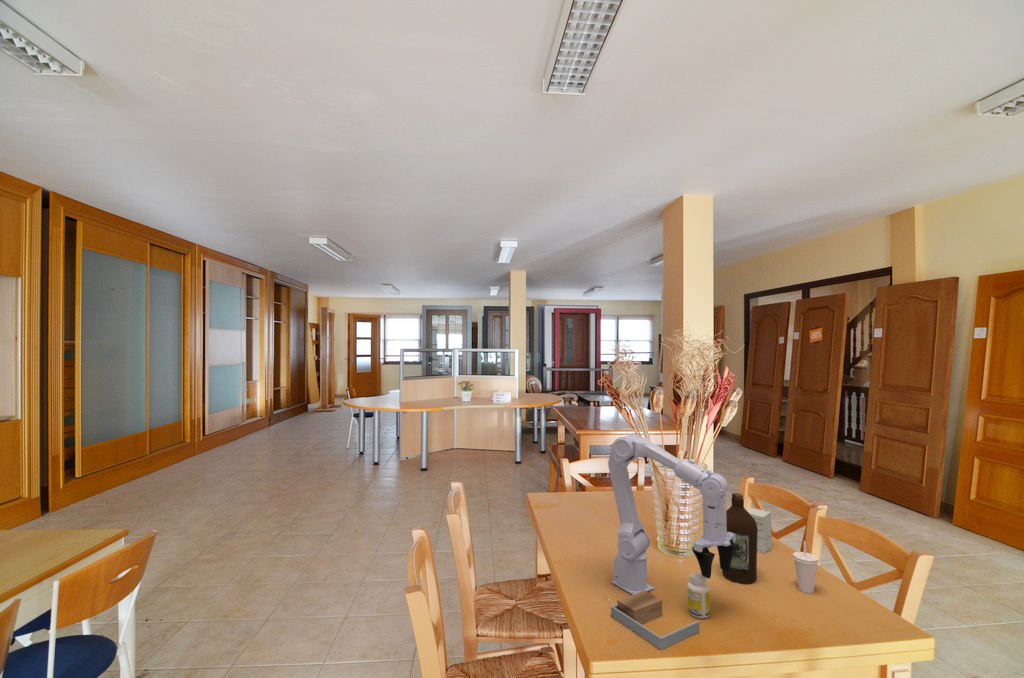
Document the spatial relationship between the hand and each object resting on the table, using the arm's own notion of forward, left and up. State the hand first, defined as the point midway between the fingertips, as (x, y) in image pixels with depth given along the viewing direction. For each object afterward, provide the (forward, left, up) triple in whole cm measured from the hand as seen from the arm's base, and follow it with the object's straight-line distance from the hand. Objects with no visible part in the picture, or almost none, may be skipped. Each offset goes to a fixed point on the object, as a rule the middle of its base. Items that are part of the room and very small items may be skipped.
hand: (715, 573), depth 123 cm
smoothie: (+6, +33, -11) cm, 35 cm away
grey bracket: (-5, -18, -10) cm, 22 cm away
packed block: (-9, -18, -10) cm, 23 cm away
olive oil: (-9, +24, -11) cm, 28 cm away
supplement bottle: (-2, -4, -11) cm, 11 cm away
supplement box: (-19, +50, -11) cm, 54 cm away
